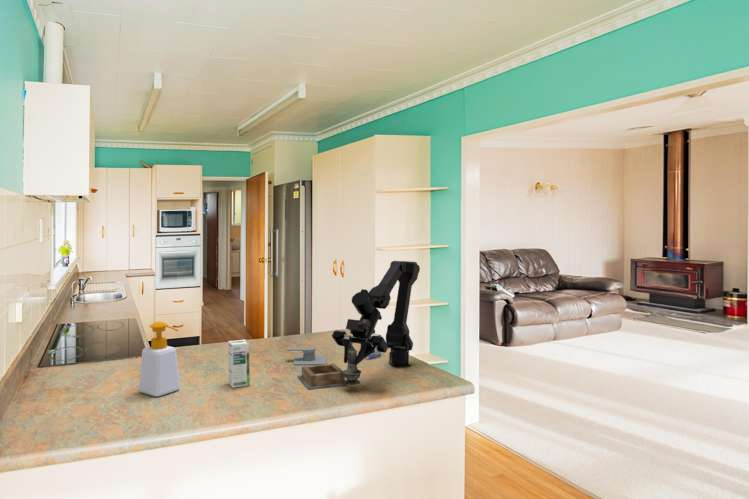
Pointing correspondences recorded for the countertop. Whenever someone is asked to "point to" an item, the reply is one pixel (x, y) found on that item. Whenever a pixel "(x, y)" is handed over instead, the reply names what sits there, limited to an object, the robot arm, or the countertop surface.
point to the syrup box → (238, 363)
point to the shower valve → (308, 357)
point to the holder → (322, 376)
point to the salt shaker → (352, 369)
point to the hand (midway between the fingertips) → (350, 363)
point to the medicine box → (374, 350)
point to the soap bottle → (159, 365)
